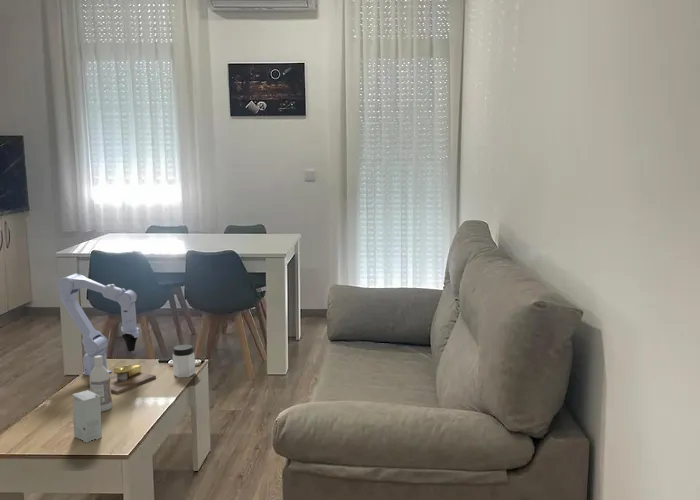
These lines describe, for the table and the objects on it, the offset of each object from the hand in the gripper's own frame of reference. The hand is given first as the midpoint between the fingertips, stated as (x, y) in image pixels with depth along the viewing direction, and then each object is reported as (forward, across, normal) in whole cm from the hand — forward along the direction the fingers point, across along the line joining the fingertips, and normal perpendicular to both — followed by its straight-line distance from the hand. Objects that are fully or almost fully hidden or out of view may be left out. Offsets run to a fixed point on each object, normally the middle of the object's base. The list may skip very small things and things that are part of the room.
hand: (131, 350), depth 277 cm
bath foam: (+11, -29, +24) cm, 39 cm away
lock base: (+10, -7, +7) cm, 14 cm away
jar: (+11, -15, -16) cm, 25 cm away
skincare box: (+11, -50, +36) cm, 63 cm away
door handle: (+9, -5, +4) cm, 11 cm away
